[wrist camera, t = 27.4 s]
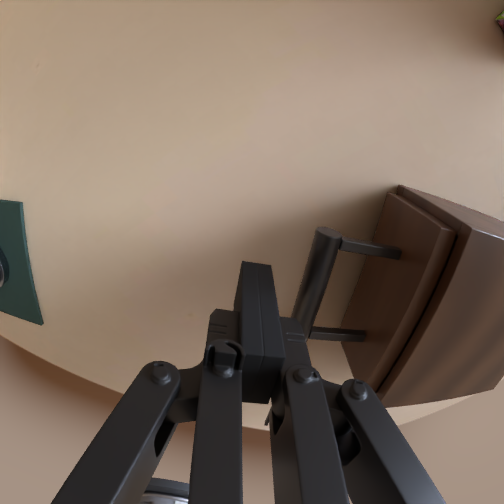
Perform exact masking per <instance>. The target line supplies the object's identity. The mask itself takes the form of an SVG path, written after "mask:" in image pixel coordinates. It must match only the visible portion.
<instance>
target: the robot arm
mask: <svg viewBox="0 0 504 504" xmlns="http://www.w3.org/2000/svg"><path fill="white" fill-rule="evenodd" d="M305 341H306V340H305V336H304V332H303V328H302V326H301V324H300V323H299V322H298V321H297V319H296V318H288V317H280V316H279V310H278V304H277V298H276V292H275V286H274V280H273V274H272V268H271V265H266V264H259V263H253V262H246V261H242V264H241V269H240V274H239V280H238V285H237V290H236V295H235V300H234V310H233V311H229V310H222V309H215V310H214V311H213V313H212V314H211V315H210V320H209V327H208V334H207V341H206V348H205V352H204V358H203V360H202V362H201V363H200V364H199V365H197V366H195V367H193V368H189V369H181V370H178V369H177V368H176V367H175V366H174V365H172V364H170V363H168V362H164V361H153V362H151V363H148V364H147V365H145V366H144V367H143V368H142V370H141V371H140V372H139V374H138V375H137V377H136V378H135V380H134V381H133V382H132V384H131V385H130V387H129V388H128V390H127V391H126V392H125V394H124V395H123V397H122V398H121V400H120V401H119V403H118V404H117V405H116V407H115V408H114V410H113V411H112V413H111V414H110V416H109V417H108V419H107V420H106V422H105V423H104V424H103V426H102V427H101V429H100V430H99V432H98V433H97V435H96V436H95V438H94V439H93V441H92V442H91V444H90V445H89V446H88V448H87V449H86V451H85V452H84V454H83V456H82V457H81V458H80V460H79V461H78V463H77V464H76V466H75V468H74V469H73V470H72V472H71V473H70V475H69V476H68V478H67V480H66V481H65V482H64V484H63V486H62V487H61V489H60V490H59V492H58V493H57V495H56V496H55V498H54V499H53V501H52V503H51V504H243V490H242V489H243V488H242V402H248V403H260V404H268V403H269V400H270V398H271V402H272V407H271V409H270V411H269V414H268V416H267V418H266V420H265V425H266V426H267V425H268V423H269V425H270V439H271V454H272V467H273V482H274V496H275V504H350V503H349V498H348V495H349V497H350V499H351V501H352V503H353V504H446V503H445V501H444V499H443V498H442V496H441V494H440V493H439V491H438V490H437V488H436V486H435V485H434V483H433V482H432V480H431V478H430V477H429V475H428V474H427V472H426V470H425V469H424V467H423V466H422V464H421V463H420V461H419V460H418V458H417V456H416V455H415V453H414V452H413V450H412V449H411V447H410V446H409V444H408V442H407V441H406V439H405V438H404V436H403V435H402V433H401V432H400V430H399V429H398V427H397V425H396V424H395V422H394V421H393V419H392V418H391V416H390V415H389V413H388V412H387V410H386V409H385V407H384V406H383V404H382V403H381V401H380V400H379V398H378V397H377V395H376V394H375V392H374V391H373V389H372V388H371V387H370V386H369V385H368V384H367V383H366V382H364V381H362V380H358V379H349V380H347V381H345V382H344V383H343V385H338V384H335V383H331V382H328V381H326V380H323V379H322V378H321V376H320V374H319V372H318V371H317V370H316V369H315V368H313V367H312V366H311V361H310V357H309V353H308V349H307V345H306V343H305ZM190 421H196V425H195V434H194V444H193V453H192V463H191V473H190V483H189V494H188V497H187V496H183V495H178V494H173V493H166V492H159V491H145V490H146V488H147V486H148V484H149V482H150V480H151V478H152V475H153V474H154V471H155V470H156V468H157V465H158V464H159V462H160V459H161V458H162V456H163V454H164V451H165V450H166V447H167V445H168V443H169V441H170V439H171V437H172V435H173V433H174V431H175V429H176V427H177V425H178V423H182V422H190Z"/></svg>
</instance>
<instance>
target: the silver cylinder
mask: <svg viewBox="0 0 504 504" xmlns="http://www.w3.org/2000/svg"><path fill="white" fill-rule="evenodd" d="M8 278H9V265H8V262H7V259H6V256H5V254H4V252H3V251H2V249H1V248H0V288H1V287H2V286H3V285H4V284H5V283H6V282H7V280H8Z"/></svg>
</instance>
